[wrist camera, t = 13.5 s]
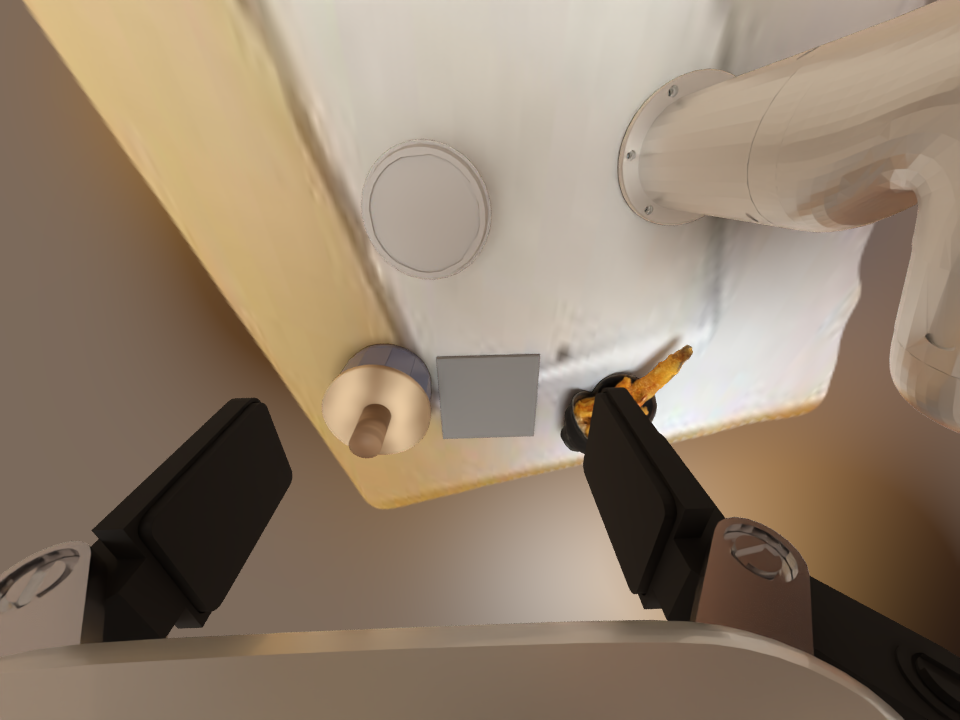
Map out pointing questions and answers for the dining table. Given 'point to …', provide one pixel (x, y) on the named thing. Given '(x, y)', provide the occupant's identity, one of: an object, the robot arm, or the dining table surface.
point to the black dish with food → (638, 388)
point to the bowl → (393, 362)
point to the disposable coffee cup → (426, 209)
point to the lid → (376, 410)
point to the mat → (488, 395)
